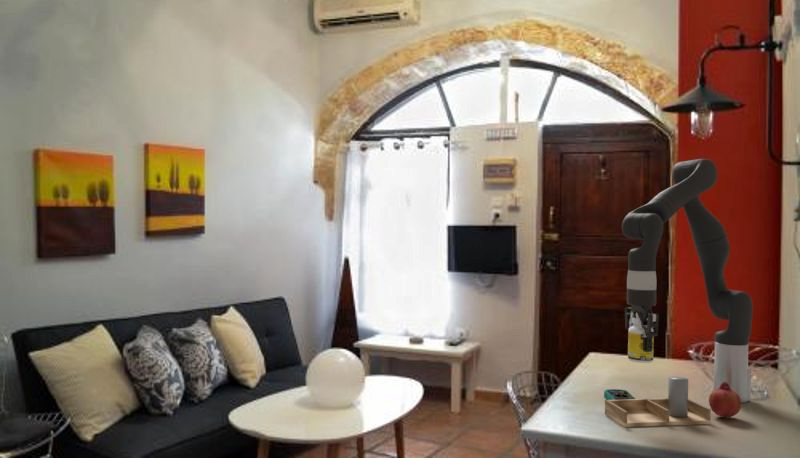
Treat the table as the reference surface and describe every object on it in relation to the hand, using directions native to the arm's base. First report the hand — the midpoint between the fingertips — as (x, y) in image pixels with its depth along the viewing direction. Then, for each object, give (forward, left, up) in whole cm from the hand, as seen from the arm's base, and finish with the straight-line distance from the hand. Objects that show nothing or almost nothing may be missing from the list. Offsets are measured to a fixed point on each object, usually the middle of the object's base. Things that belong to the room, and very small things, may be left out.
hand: (640, 348), depth 183 cm
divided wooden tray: (-5, -1, -19) cm, 20 cm away
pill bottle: (0, 0, -3) cm, 3 cm away
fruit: (-25, 0, -20) cm, 32 cm away
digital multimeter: (-4, -17, -20) cm, 27 cm away
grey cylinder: (-11, 0, -18) cm, 22 cm away
